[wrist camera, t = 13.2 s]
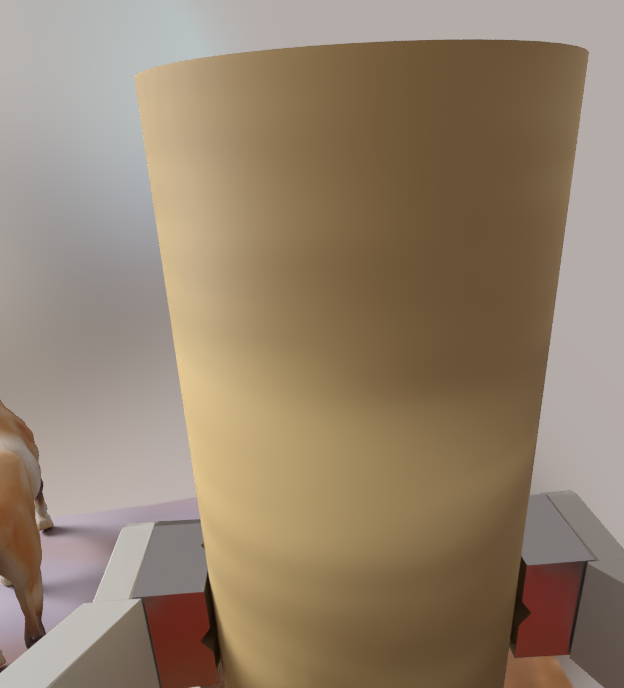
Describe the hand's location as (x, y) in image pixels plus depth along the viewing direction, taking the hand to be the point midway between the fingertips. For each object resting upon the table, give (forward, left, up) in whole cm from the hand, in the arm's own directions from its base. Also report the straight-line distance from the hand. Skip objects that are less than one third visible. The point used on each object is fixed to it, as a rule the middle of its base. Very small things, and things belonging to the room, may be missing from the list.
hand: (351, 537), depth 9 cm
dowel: (-1, -1, -11) cm, 11 cm away
